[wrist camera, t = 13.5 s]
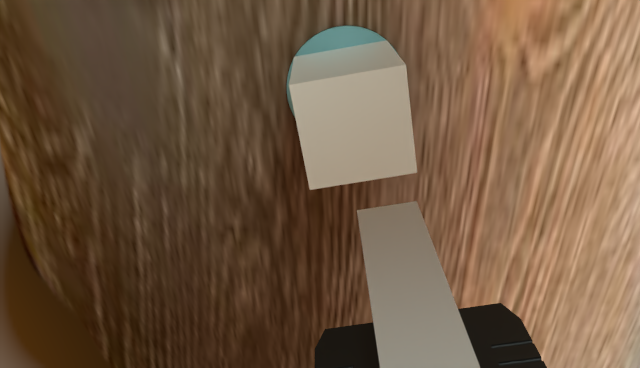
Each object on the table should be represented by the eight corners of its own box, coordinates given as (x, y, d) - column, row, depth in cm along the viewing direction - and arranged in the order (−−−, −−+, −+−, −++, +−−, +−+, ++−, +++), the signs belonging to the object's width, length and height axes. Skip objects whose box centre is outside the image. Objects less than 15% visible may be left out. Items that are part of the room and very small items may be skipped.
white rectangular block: (293, 56, 29) (288, 85, 23) (386, 40, 29) (405, 64, 23) (310, 143, 31) (309, 190, 25) (396, 128, 31) (417, 172, 25)
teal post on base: (276, 37, 29) (265, 61, 23) (398, 15, 29) (422, 34, 23) (299, 151, 32) (295, 200, 26) (410, 132, 32) (435, 178, 26)
